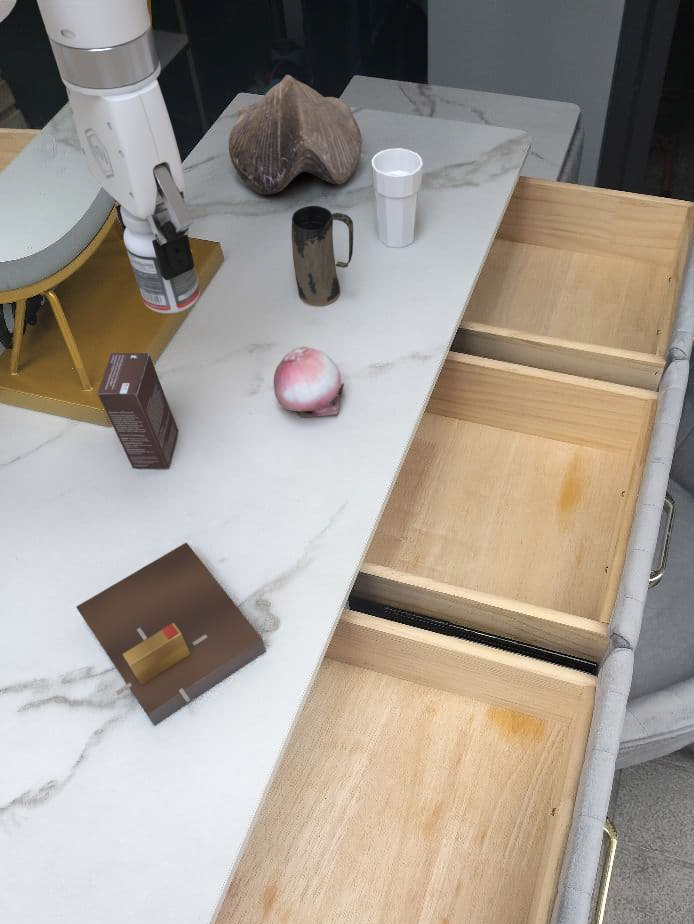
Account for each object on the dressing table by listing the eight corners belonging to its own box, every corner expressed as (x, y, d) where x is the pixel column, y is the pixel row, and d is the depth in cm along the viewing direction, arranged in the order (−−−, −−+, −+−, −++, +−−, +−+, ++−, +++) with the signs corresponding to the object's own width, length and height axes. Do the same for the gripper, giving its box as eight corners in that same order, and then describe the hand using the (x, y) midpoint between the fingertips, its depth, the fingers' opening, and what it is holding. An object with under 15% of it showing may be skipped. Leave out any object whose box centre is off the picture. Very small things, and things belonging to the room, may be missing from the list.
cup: (413, 219, 117) (414, 145, 108) (426, 246, 113) (428, 172, 104) (368, 226, 116) (366, 152, 107) (380, 254, 112) (378, 180, 103)
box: (140, 430, 94) (109, 350, 84) (179, 431, 93) (153, 351, 84) (128, 470, 90) (94, 392, 80) (168, 472, 90) (140, 394, 80)
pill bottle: (193, 273, 83) (172, 182, 75) (207, 307, 80) (186, 217, 72) (137, 285, 82) (109, 194, 73) (148, 321, 79) (121, 230, 70)
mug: (290, 301, 107) (280, 219, 97) (306, 275, 110) (297, 193, 100) (348, 313, 105) (343, 231, 95) (361, 287, 108) (358, 205, 98)
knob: (141, 685, 73) (129, 664, 69) (134, 674, 73) (121, 652, 70) (191, 654, 75) (180, 632, 71) (183, 643, 75) (172, 621, 72)
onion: (317, 370, 99) (312, 324, 93) (358, 405, 96) (355, 359, 90) (264, 401, 96) (255, 355, 90) (304, 438, 93) (297, 393, 87)
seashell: (213, 99, 119) (269, 41, 108) (305, 126, 130) (364, 76, 119) (230, 205, 119) (287, 158, 108) (321, 223, 130) (382, 181, 119)
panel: (73, 625, 79) (64, 612, 77) (191, 555, 84) (185, 540, 82) (149, 742, 72) (141, 731, 70) (272, 659, 77) (269, 646, 75)
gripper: (10, 24, 64) (81, 227, 79) (117, 115, 57) (173, 320, 72) (97, -1, 67) (149, 200, 82) (209, 82, 60) (244, 286, 74)
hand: (160, 254), depth 77 cm, fingers closed on pill bottle, 5 cm apart
